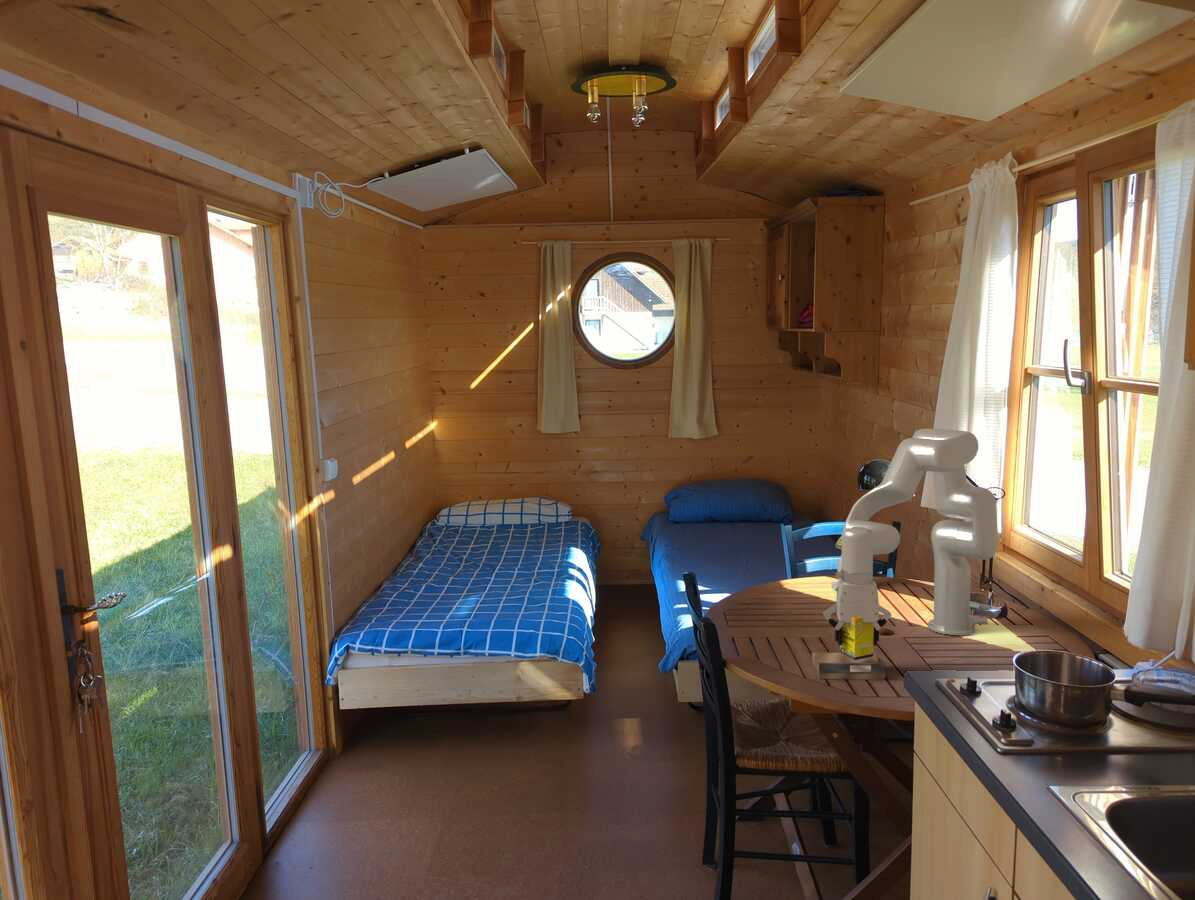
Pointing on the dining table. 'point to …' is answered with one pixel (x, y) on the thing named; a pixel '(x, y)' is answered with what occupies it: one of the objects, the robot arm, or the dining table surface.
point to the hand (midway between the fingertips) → (856, 643)
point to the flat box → (847, 667)
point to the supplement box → (857, 639)
